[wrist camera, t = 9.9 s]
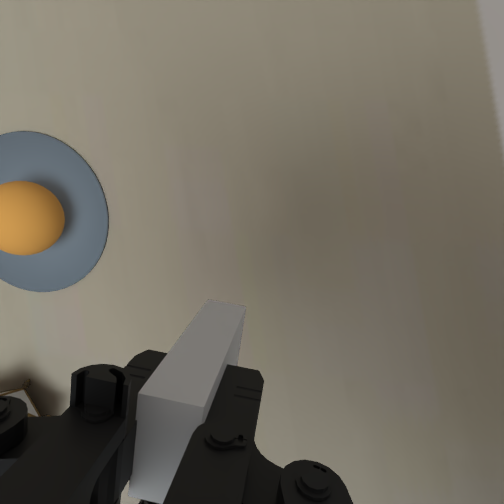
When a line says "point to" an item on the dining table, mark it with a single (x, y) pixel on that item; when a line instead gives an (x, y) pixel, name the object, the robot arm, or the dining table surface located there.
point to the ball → (28, 218)
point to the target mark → (74, 206)
